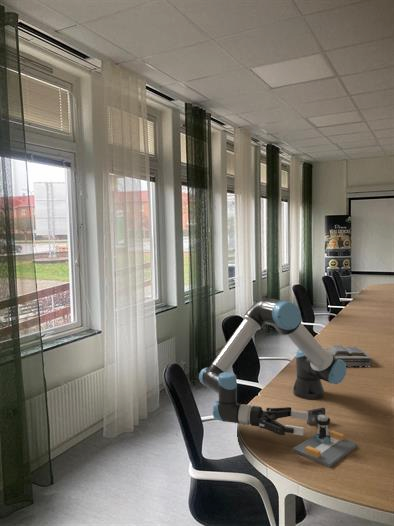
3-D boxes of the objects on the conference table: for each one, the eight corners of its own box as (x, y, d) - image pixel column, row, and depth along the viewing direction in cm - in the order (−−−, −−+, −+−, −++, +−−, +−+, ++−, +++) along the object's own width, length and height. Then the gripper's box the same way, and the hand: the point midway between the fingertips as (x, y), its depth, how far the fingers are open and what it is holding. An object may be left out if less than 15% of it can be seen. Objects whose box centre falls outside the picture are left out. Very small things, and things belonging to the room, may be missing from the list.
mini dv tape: (323, 420, 176) (322, 407, 176) (325, 421, 175) (325, 408, 174) (307, 423, 173) (306, 410, 173) (309, 425, 172) (309, 411, 172)
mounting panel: (321, 433, 164) (321, 425, 164) (356, 446, 153) (357, 438, 153) (292, 451, 151) (292, 443, 151) (329, 467, 140) (329, 458, 140)
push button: (335, 441, 155) (334, 415, 155) (332, 447, 151) (332, 421, 150) (317, 437, 159) (317, 412, 158) (314, 443, 154) (314, 418, 153)
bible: (322, 356, 270) (322, 342, 270) (366, 358, 264) (366, 343, 263) (325, 367, 248) (325, 351, 247) (372, 370, 241) (372, 354, 240)
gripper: (258, 412, 174) (309, 419, 166) (242, 439, 151) (301, 449, 143) (258, 394, 174) (309, 401, 166) (242, 419, 150) (301, 428, 142)
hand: (305, 423), depth 154 cm, fingers open, 13 cm apart
